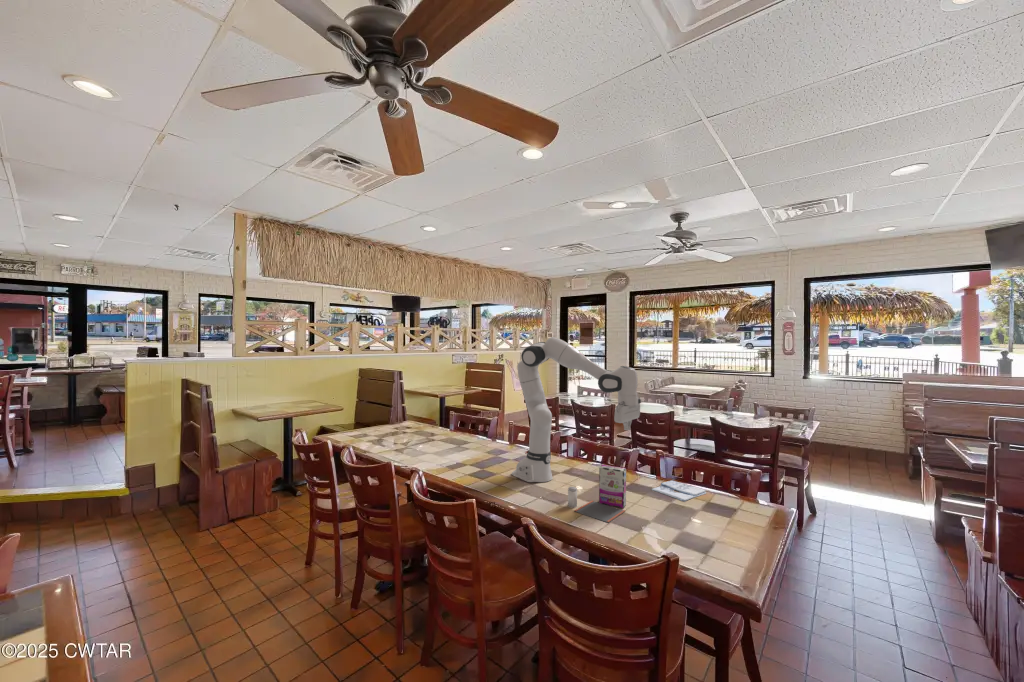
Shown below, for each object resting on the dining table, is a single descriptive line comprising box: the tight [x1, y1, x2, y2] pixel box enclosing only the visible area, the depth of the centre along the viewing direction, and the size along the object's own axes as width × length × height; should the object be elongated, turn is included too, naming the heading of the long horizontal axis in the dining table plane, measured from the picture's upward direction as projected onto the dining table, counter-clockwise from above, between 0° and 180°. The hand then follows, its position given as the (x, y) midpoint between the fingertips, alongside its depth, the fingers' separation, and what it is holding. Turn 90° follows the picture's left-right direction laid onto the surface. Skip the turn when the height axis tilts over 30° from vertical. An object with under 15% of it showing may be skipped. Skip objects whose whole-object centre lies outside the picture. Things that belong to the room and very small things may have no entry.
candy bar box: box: [598, 464, 627, 509], centre depth 181 cm, size 11×5×16 cm, turn 61°
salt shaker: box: [567, 486, 578, 509], centre depth 179 cm, size 4×4×8 cm
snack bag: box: [650, 480, 707, 503], centre depth 198 cm, size 19×20×2 cm
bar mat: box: [574, 500, 626, 524], centre depth 173 cm, size 16×15×1 cm
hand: (627, 429), depth 192 cm, fingers closed
